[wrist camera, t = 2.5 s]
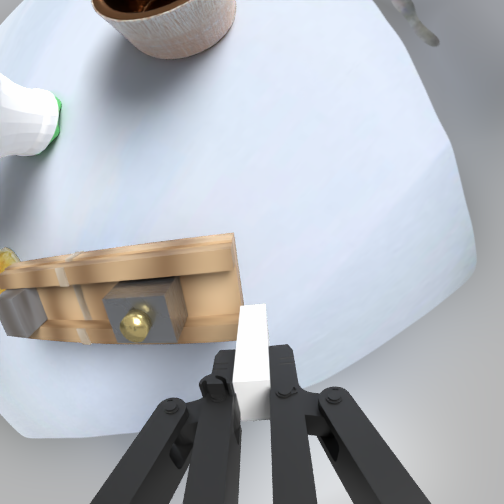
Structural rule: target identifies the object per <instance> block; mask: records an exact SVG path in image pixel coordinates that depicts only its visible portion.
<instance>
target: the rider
mask: <svg viewBox="0 0 504 504" xmlns="http://www.w3.org/2000/svg"><path fill="white" fill-rule="evenodd" d="M102 301H103V304H104V307H105V310H106V313H107V316H108V319H109V321H110V324H111V327H112V329H113V332H114V335H115V337H116V340H117V342H118V343H177V342H178V340H179V337H180V335H181V332H182V329H183V327H184V324H185V322H186V319H187V317H188V312H187V308H186V303H185V299H184V295H183V291H182V286H181V282H180V277H179V276H169V277H158V278H147V279H136V280H124V281H119V282H118V283H117V284H116V285H115V286H114V287H113V288H112V289H111V290H110V291H109V292H108V293H107V294H106V295H105V297H104V298H103V299H102Z"/></svg>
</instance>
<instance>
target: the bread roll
mask: <svg viewBox="0 0 504 504" xmlns="http://www.w3.org/2000/svg"><path fill="white" fill-rule="evenodd" d="M16 262H21V261H20V260H19V258H18V257H17V255H16V254H15V253H14V252H13V251H12V250H11V249H9V248H7V247H4V248H2V249H0V273H2V272H3V271H5V268H7V267H8V266H10V265H12V264H13V263H16ZM5 290H6V289H2V290H1V289H0V294H1V293H2V292H4V291H5Z"/></svg>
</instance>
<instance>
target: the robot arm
mask: <svg viewBox="0 0 504 504" xmlns="http://www.w3.org/2000/svg"><path fill="white" fill-rule="evenodd" d="M199 387H200V390H201V393H202V396H203V398H201V399H199V400H196V401H193V402H189V403H185V402H184V401H183V400H181V399H179V398H169V399H166V400H164V401H162V402H161V403H160V404H159V405H158V406H157V408H156V409H155V411H154V412H153V414H152V415H151V417H150V418H149V420H148V421H147V422H146V424H145V425H144V427H143V428H142V430H141V431H140V433H139V434H138V436H137V437H136V439H135V440H134V441H133V443H132V444H131V446H130V447H129V449H128V450H127V452H126V453H125V454H124V456H123V457H122V459H121V460H120V461H119V463H118V464H117V466H116V467H115V469H114V470H113V472H112V473H111V474H110V476H109V477H108V479H107V480H106V482H105V483H104V484H103V486H102V487H101V489H100V490H99V492H98V493H97V495H96V496H95V497H94V499H93V500H92V502H91V503H90V504H169V502H170V500H171V499H172V497H173V494H174V493H175V491H176V489H177V487H178V485H179V483H180V481H181V479H182V478H183V476H184V474H185V472H186V470H187V468H188V466H189V464H190V466H189V472H188V478H187V483H186V489H185V494H184V500H183V504H238V495H239V494H238V493H239V473H240V453H241V432H242V430H241V425H240V417H241V420H242V421H256V420H270V423H271V452H272V483H273V504H317V498H316V490H315V483H314V475H313V468H312V462H311V454H310V448H309V441H308V435H315V436H317V438H318V440H319V441H320V443H321V445H322V447H323V449H324V451H325V452H326V454H327V456H328V458H329V460H330V462H331V464H332V466H333V467H334V469H335V471H336V473H337V475H338V476H339V478H340V480H341V482H342V484H343V486H344V487H345V489H346V491H347V492H348V494H349V496H350V498H351V500H352V502H353V503H354V504H431V503H430V501H429V500H428V499H427V497H426V496H425V495H424V493H423V492H422V491H421V489H420V488H419V487H418V485H417V484H416V483H415V481H414V480H413V479H412V477H411V476H410V475H409V473H408V472H407V471H406V469H405V468H404V467H403V465H402V464H401V462H400V461H399V460H398V458H397V457H396V456H395V454H394V453H393V452H392V450H391V449H390V448H389V446H388V445H387V444H386V442H385V441H384V440H383V438H382V437H381V436H380V434H379V433H378V432H377V430H376V429H375V427H374V426H373V425H372V423H371V422H370V421H369V419H368V418H367V417H366V415H365V414H364V413H363V411H362V410H361V408H360V407H359V406H358V405H357V403H356V402H355V400H354V399H353V398H352V396H351V395H350V394H349V392H348V391H347V390H345V389H343V388H341V387H329V388H326V389H324V390H323V391H322V392H321V393H320V394H318V393H311V392H307V391H305V390H303V389H302V388H301V387H300V386H299V383H298V379H297V373H296V367H295V361H294V355H293V350H292V349H291V348H290V346H289V345H288V344H285V345H276V346H270V343H269V333H268V323H267V314H266V305H265V304H256V305H245V306H240V314H239V324H238V333H237V343H236V350H220V351H219V352H218V354H217V355H216V356H215V359H214V365H213V370H212V374H210V375H208V376H205V377H204V378H203V379H201V381H200V383H199Z"/></svg>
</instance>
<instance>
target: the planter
mask: <svg viewBox="0 0 504 504" xmlns="http://www.w3.org/2000/svg"><path fill="white" fill-rule="evenodd" d="M91 2H92V6H93V8H94V10H95V11H96V12H97V13H98V14H99V15H100V16H101V17H102V18H103V19H104V20H106V21H107V22H108V23H109V24H111V25H112V26H113V27H114V28H115V29H116V30H117V31H119V32H120V33H121V34H122V35H123V36H124V37H125V38H126V39H127V40H129V41H130V42H131V43H132V44H133V45H134V46H135V47H136V48H137V49H138V50H140V51H141V52H143V53H145V54H147V55H149V56H152V57H155V58H159V59H179V58H185V57H189V56H192V55H195V54H198V53H200V52H202V51H204V50H206V49H208V48H210V47H211V46H213V45H214V44H215V43H217V42H218V41H219V40H220V39H221V38H222V37H223V36H224V35H225V34H226V33H227V32H228V30H229V29H230V27H231V25H232V23H233V21H234V18H235V13H236V1H235V0H91Z"/></svg>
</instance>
